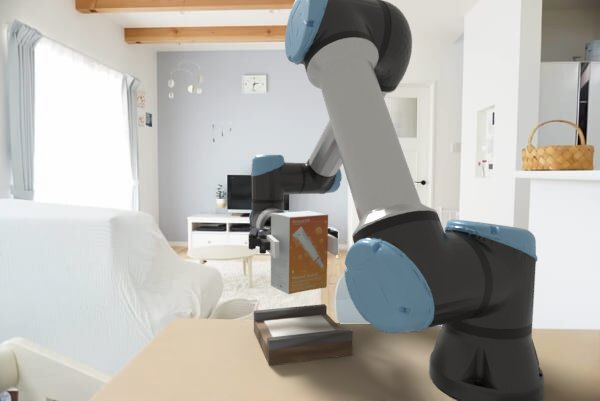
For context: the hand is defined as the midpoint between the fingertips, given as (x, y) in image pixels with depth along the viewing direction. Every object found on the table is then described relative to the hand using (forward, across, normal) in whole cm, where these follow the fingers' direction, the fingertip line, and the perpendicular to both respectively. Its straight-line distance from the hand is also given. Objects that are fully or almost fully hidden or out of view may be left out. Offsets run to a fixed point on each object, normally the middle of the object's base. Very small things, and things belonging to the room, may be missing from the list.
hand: (307, 248), depth 69 cm
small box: (-5, 0, -8) cm, 9 cm away
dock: (-4, 0, -18) cm, 18 cm away
